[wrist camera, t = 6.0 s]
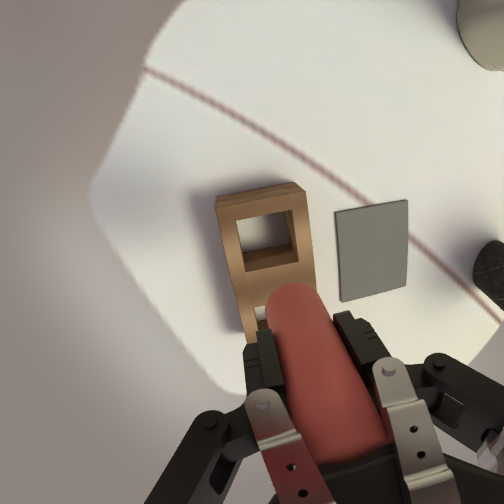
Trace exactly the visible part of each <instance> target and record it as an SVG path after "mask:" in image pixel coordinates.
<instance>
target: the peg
mask: <svg viewBox="0 0 504 504" xmlns="http://www.w3.org/2000/svg"><path fill="white" fill-rule="evenodd" d="M265 313H266V318H267V322H268V327H269V328H271V330H272V334H273V338H274V343H275V347H276V351H277V355H278V360H279V364H280V368H281V372H282V377H283V381H284V386H285V391H286V407H287V411H288V415H289V417H290V419H291V421H292V423H293V426H294V428H295V430H296V431H297V432H299V433H300V434H301V436H302V438H303V440H304V442H305V444H306V446H307V448H308V450H309V452H310V454H311V456H312V458H313V460H314V462H315V464H316V466H319V465H323V464H332V463H347V462H355V461H357V460H359V459H360V458H362V457H364V456H366V455H367V454H369V453H371V452H372V451H374V450H375V449H377V448H379V447H382V446H385V445H387V444H390V443H391V440H390V438H389V437H387V436H386V433H385V430H384V427H383V424H382V421H381V417H380V415H379V413H378V411H377V409H376V407H375V405H374V403H373V401H372V399H371V397H370V395H369V393H368V390H367V388H366V386H365V384H364V382H363V380H362V378H361V376H360V374H359V372H358V370H357V368H356V366H355V364H354V362H353V360H352V358H351V356H350V354H349V352H348V350H347V348H346V346H345V345H344V343H343V341H342V339H341V337H340V335H339V333H338V331H337V329H336V327H335V325H334V323H333V321H332V319H331V317H330V316H329V314H328V312H327V310H326V308H325V306H324V304H323V302H322V300H321V298H320V297H319V295H318V293H317V292H316V290H315V289H314V288H312V287H311V286H309V285H306V284H303V283H291V284H287V285H284V286H282V287H280V288H278V289H277V290H276V291H274V292H273V293H272V294H271V296H270V297H269V299H268V300H267V303H266V307H265Z"/></svg>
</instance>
